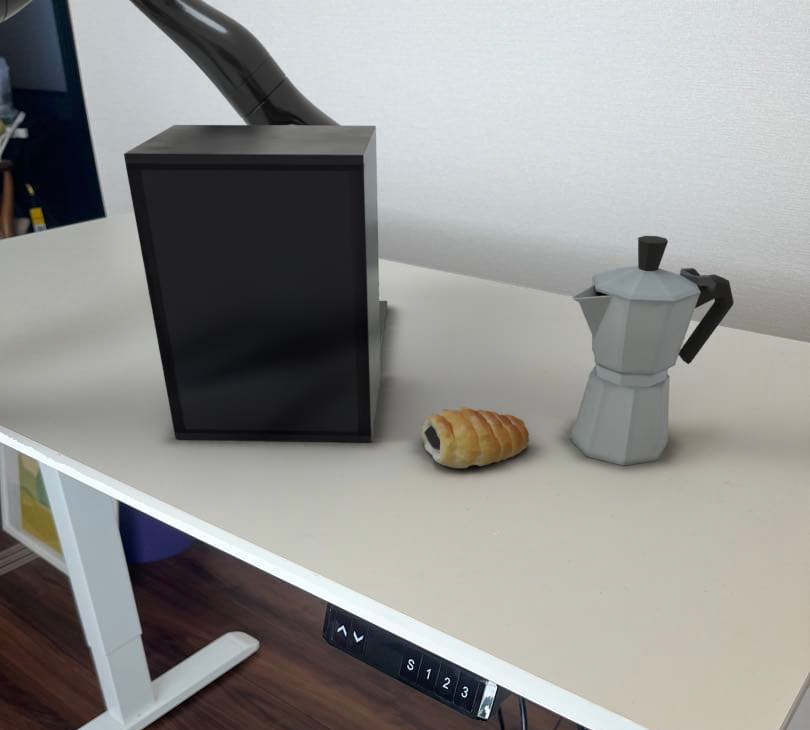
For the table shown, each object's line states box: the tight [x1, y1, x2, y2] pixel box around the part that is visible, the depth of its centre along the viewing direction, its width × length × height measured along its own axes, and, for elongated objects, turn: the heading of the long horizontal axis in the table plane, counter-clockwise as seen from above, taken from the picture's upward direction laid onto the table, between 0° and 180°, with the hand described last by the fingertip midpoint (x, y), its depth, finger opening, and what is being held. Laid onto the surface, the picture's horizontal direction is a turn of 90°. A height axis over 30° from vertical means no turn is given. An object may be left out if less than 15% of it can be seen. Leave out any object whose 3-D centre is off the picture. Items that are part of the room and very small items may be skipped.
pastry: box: [420, 407, 530, 469], centre depth 72 cm, size 9×7×4 cm
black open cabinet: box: [123, 124, 388, 443], centre depth 82 cm, size 36×18×24 cm, turn 178°
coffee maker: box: [569, 235, 734, 466], centre depth 69 cm, size 15×9×18 cm, turn 106°
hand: (272, 239), depth 73 cm, fingers closed on syrup box, 8 cm apart
